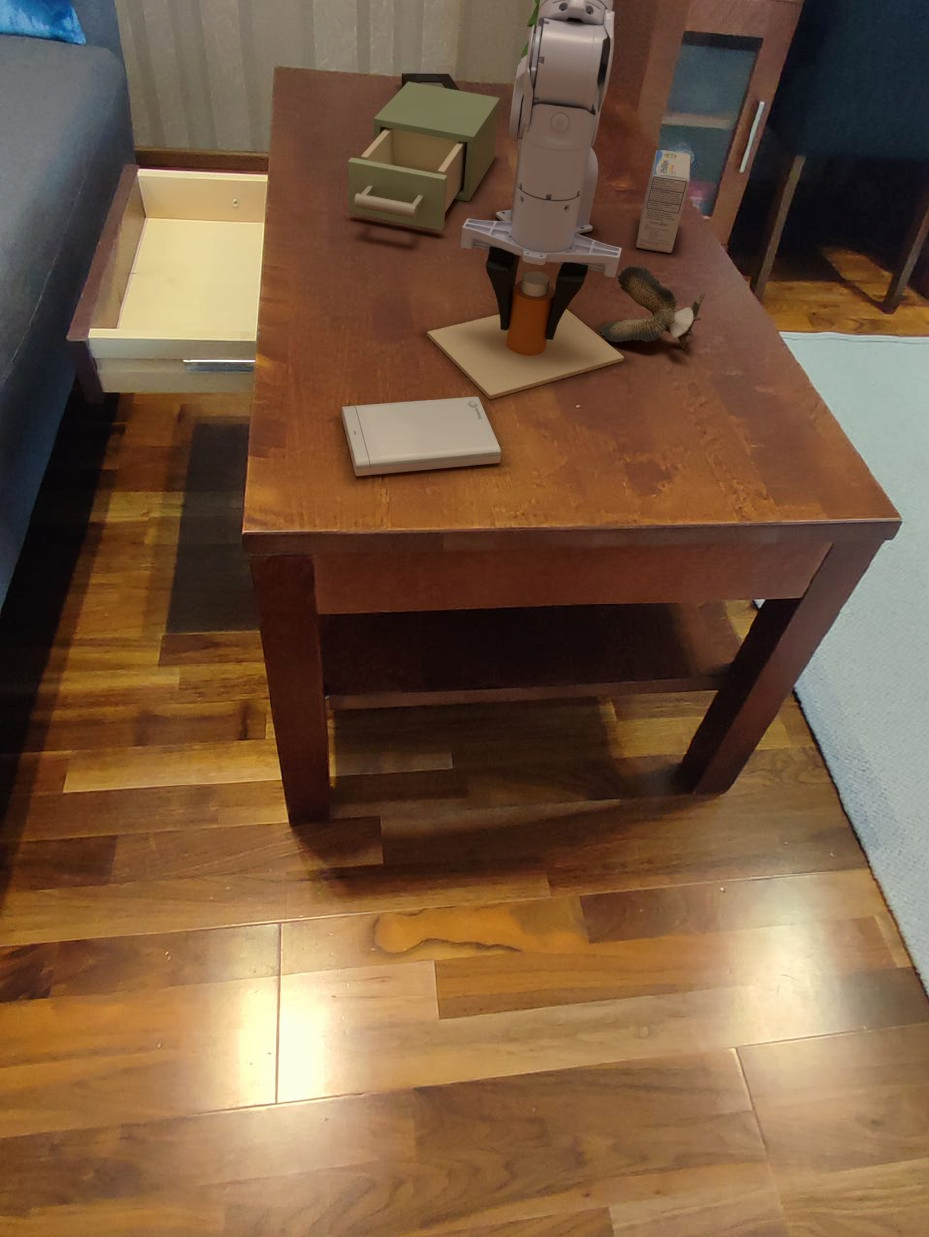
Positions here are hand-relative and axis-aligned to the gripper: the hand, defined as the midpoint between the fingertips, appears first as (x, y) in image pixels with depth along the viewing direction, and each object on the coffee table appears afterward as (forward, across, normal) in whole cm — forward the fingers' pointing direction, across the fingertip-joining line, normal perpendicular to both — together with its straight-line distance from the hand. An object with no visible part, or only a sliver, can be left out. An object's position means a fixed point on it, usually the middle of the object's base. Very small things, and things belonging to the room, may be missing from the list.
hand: (527, 329), depth 82 cm
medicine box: (+2, +10, +31) cm, 33 cm away
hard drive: (+2, -6, -18) cm, 19 cm away
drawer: (+1, -20, +24) cm, 31 cm away
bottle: (+2, 0, 0) cm, 2 cm away
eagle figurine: (+2, +12, +7) cm, 14 cm away
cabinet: (+2, -20, +38) cm, 43 cm away
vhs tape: (+2, -26, +62) cm, 67 cm away
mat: (+2, 0, 0) cm, 2 cm away
